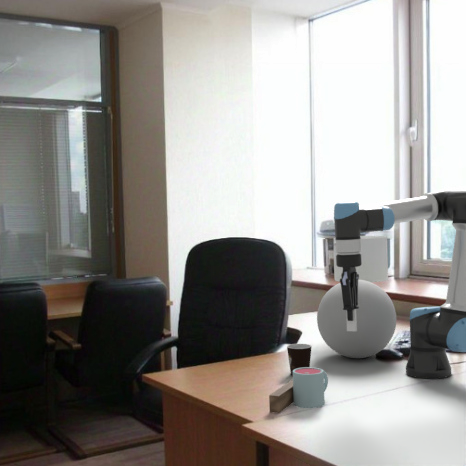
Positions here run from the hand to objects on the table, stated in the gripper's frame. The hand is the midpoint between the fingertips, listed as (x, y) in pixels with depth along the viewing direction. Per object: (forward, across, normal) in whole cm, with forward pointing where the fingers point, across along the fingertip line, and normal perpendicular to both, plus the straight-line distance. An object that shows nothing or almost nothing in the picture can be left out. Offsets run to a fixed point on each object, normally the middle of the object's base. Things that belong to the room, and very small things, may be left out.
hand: (351, 330), depth 216 cm
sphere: (+22, -57, -14) cm, 62 cm away
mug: (+21, +7, -11) cm, 25 cm away
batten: (+21, +8, -18) cm, 28 cm away
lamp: (+23, -91, -21) cm, 96 cm away
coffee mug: (+21, -26, -27) cm, 43 cm away
